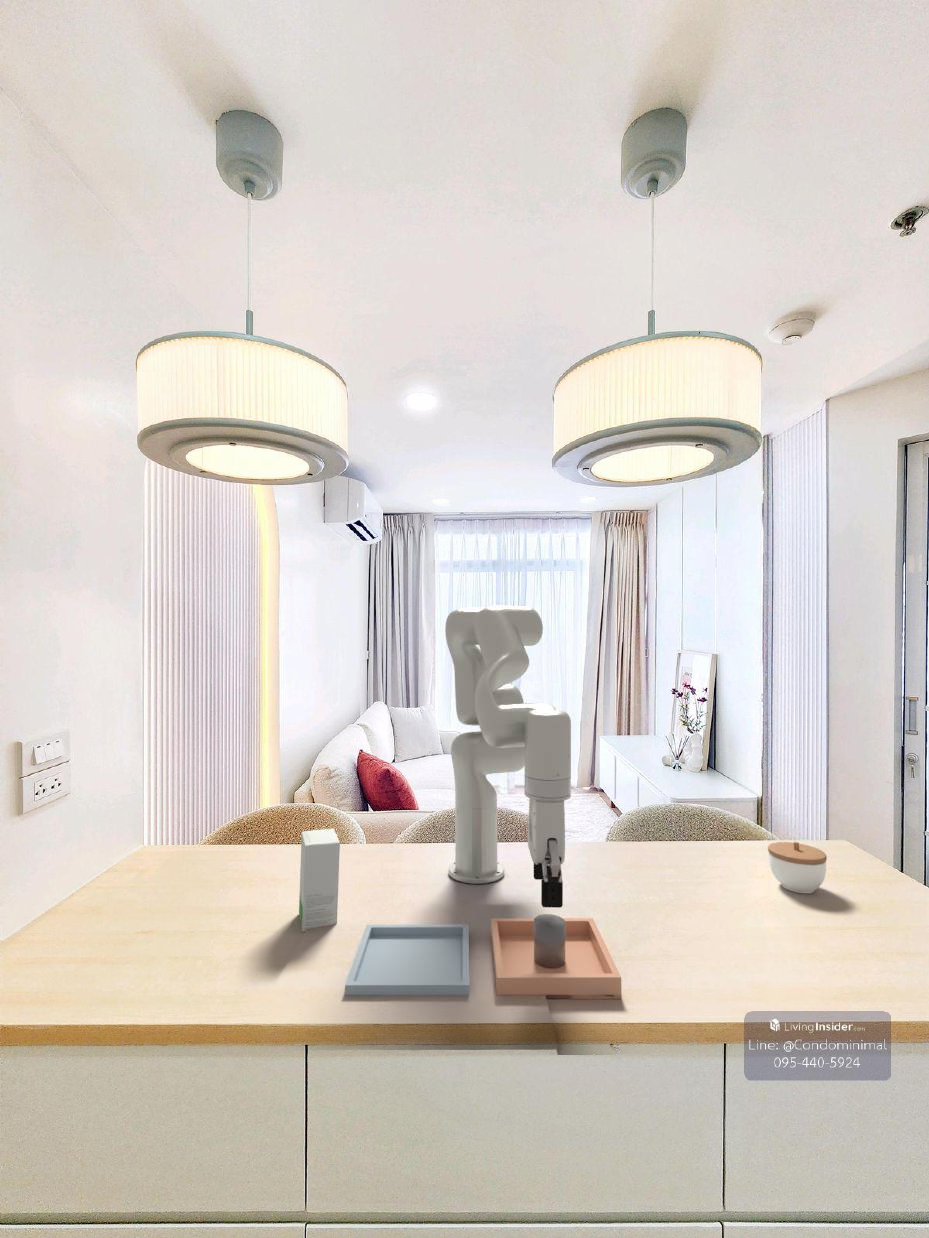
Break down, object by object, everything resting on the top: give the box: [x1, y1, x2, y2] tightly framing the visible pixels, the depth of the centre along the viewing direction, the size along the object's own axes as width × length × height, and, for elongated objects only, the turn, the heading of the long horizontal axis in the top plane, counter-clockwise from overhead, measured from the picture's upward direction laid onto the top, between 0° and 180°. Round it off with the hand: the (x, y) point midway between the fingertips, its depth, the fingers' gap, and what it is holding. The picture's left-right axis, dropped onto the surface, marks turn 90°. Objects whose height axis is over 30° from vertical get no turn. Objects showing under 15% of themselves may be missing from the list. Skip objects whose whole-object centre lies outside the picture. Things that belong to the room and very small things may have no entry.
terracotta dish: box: [490, 917, 623, 1000], centre depth 90 cm, size 18×18×3 cm
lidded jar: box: [767, 841, 828, 895], centre depth 119 cm, size 11×11×9 cm
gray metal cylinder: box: [534, 913, 565, 968], centre depth 91 cm, size 5×5×6 cm
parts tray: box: [344, 923, 470, 997], centre depth 90 cm, size 18×18×2 cm
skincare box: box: [298, 827, 341, 933], centre depth 106 cm, size 8×7×16 cm
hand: (547, 891), depth 91 cm, fingers open, 9 cm apart
